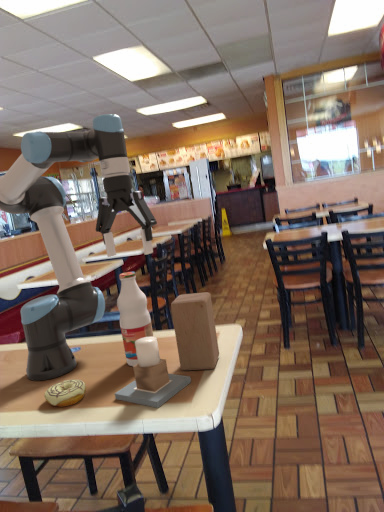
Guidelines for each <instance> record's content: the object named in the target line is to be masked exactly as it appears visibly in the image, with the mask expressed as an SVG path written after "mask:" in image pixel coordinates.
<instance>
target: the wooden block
mask: <svg viewBox="0 0 384 512" xmlns="http://www.w3.org/2000/svg"><path fill="white" fill-rule="evenodd" d="M170 304H171V305H170V309H171V316H172V323H173V328H174V333H175V339H176V342H175V343H176V347H177V352H178V358H179V360H178V361H179V365H180V369H181V371H196V370H197V371H198V370H213V369H215V367H216V364H217V362H218V359H219V356H220V350H219V343H218V335H217V329H216V322H215V316H214V309H213V301H212V296H211V293H210V292H208V291H206V292H195V293H184V294H179V295H178V296H176V297H175V299H174V300H173V301H172V302H171V303H170Z"/></svg>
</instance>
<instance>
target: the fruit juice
mask: <svg viewBox="0 0 384 512" xmlns="http://www.w3.org/2000/svg"><path fill="white" fill-rule="evenodd" d="M118 277H119V280H120V284H121V285H120V292H119V295H118V297H117V299H116V305H117V306H116V307H117V308H118V311H119V326H120V331H121V332H120V333H121V338H122V342H123V348H124V354H125V360H126V363H127V365H128V366H130V367H133V366H134V365H136V364H138V358H137V352H136V346H135V341H136V340H138V339H140V338H144V337H154V332H153V327H152V326H153V325H152V319H151V315H150V312H149V310H148V307H147V305H148V299H147V296H146V294H145V293H144V292H143V291H142V290H141V289H140V287H139V285H138V283H137V279H136V277H137V275H136V272H135V271H126V272H122V273H120V274H119V275H118Z"/></svg>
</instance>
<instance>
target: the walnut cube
mask: <svg viewBox="0 0 384 512" xmlns="http://www.w3.org/2000/svg"><path fill="white" fill-rule="evenodd" d="M132 368H133V369H132V370H133V372H134V373H133V374H134V378H135V380H136V386H137V389H142V390H147V391H153V392H155V391H157V390H158V389H159V388H161V387H162V386H164V385H165V384H167V383H168V382H169V376H168V373H169V371H168V370H169V369H168V365H167V359H163V358H160V363H159V364H157V365H155V366H152V367H140V366H139V363H138V364H136V365H134V366H132ZM135 380H134V381H135Z"/></svg>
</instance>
